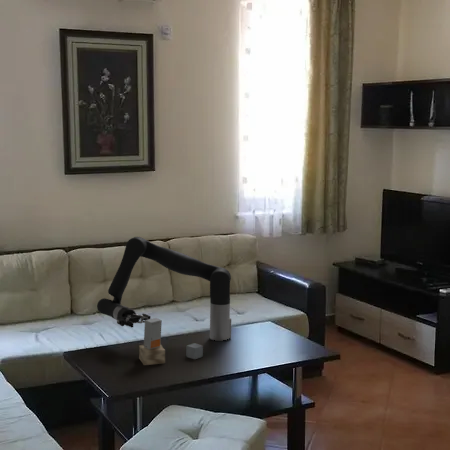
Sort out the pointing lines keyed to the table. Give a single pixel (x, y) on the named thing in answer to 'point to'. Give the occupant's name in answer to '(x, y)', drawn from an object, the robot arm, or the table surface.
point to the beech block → (151, 355)
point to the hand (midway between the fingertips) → (141, 323)
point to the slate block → (194, 351)
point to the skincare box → (152, 333)
